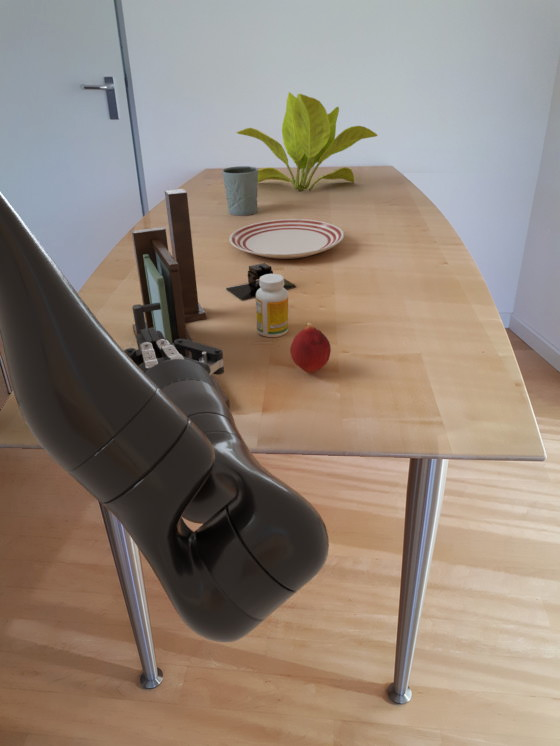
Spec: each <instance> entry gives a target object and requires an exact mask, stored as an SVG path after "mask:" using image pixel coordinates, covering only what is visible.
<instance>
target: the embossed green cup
mask: <svg viewBox="0 0 560 746" xmlns="http://www.w3.org/2000/svg"><path fill="white" fill-rule="evenodd" d="M258 170H259V169H258V168H257V167H256V166H250V165H249V166H248V165H239V166H230V167H226V168H224V169H222V171H221V173H222V179H223V185H224V188H225V197H226V201H227V202H226V203H227V204H226V205H227V212H228V214H230V215H232V216H241V217H243V216H251V215H255V214H256V213H258V183H259V182H258Z"/></svg>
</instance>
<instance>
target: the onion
mask: <svg viewBox="0 0 560 746" xmlns="http://www.w3.org/2000/svg"><path fill="white" fill-rule="evenodd" d="M289 352H290V356H291V359H292V362H293V363H294V364H295V365H297V367H298V368H300V369H301V370H303V371H304V372H306V373H308V374H311V373H315V372H316V371H319V370H320V369H322V368H323V367H325V365H327V363H328V362H329V360H330V357H331V352H332V349H331V343H330V341H329V340H328V337H327V336H326V335H325V334H324V333H323V332H322V331H321V330H320V329H317V327H315V326H314V325H313V324H312V323H311V322H306V325H305V328H303V329H302V330H300V331H298V333H297V334H296V335H295V336H294V337H293V339H292V341H291V344H290V348H289Z"/></svg>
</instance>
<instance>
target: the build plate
mask: <svg viewBox="0 0 560 746" xmlns="http://www.w3.org/2000/svg"><path fill="white" fill-rule="evenodd" d="M272 268H273V267H272V266H271V265H269V264H267V263H266V262H261V263H258V264H252V265H249V266H248V270H247V275H246V276H247V282H243V283H239V284H235V285H231V286H227V287H226V288H225V290H226V291H228V292H229V293H230V294H232V295H233V296H235V297H236V298H238V299H239V300H240V301H246V300H251V299H253V298H254V299H256V292H257V290H258V289H259V288H260V285H259V284H260V277H261V276H263V275H266V274H274V271H273V269H272ZM296 287H297V285H296V284H294V283H293V282H291V281H289V280H288V279H285V278H284V286H283V288H285V289H286V290H287V291H288V290H291V289H294V288H296Z"/></svg>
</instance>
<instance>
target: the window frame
mask: <svg viewBox="0 0 560 746" xmlns="http://www.w3.org/2000/svg"><path fill="white" fill-rule="evenodd" d="M130 232H131V239H132V244H133V250H134V257H135V263H136V268H137V269H136V271H137V274H138V281H139V289H140V293H141V300H142V305H147V304H150V299H149V292H148V285H147V279H146V272H145V266H144V259H143V255H144V254H148V255H149V257H150V260H151V261H152V263H153V264H154V266H155V267H156V269H157V271H158V272H159V274H160V275H161V276H162V277H163V278H164V285H165V293H166V300H167V308H168V315H169V322H170V330H171V337H172V343H174V341H175V340H177V339H185V340H189V341H193V342H194V340H193V338H192V337H191V335H190V333H189V332H188V330H187V327H186V323H185V318H184V310H183V302H182V293H181V285H180V276H179V268H178V263H177V262H176V261H175V259H174V258H173V256H172V253H170V251H169V244H168V243H169V242H168V236H167V229H166V228H165V227H164V226H160V227H152V228H145V229H137V230H131V231H130ZM144 317H145V323H146V329H148V328H153V327H154V325H153V318H152V312H151V311H148V312H144ZM132 330H133V334H134V336H135V338H136V336H137V332H136V326H135V323H133V324H132ZM187 355H188V356H191V357H192V354H191V352H190V351H188V350H187ZM210 376H211V379H212V380H213V382H214V384H215V386H216V387H217V389H218V391H219V392H220V394H221V396H222V397H223V399H224V401H225V403H226V404H227V406H228V408H229V409H231V408H230V400H229V397H228V396H227V395H226V393H225V391H224V389H223V388H222V387H221V385H220V382H218V380H217V378H216V376H215V374H213V373H212V374H211V375H210Z"/></svg>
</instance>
